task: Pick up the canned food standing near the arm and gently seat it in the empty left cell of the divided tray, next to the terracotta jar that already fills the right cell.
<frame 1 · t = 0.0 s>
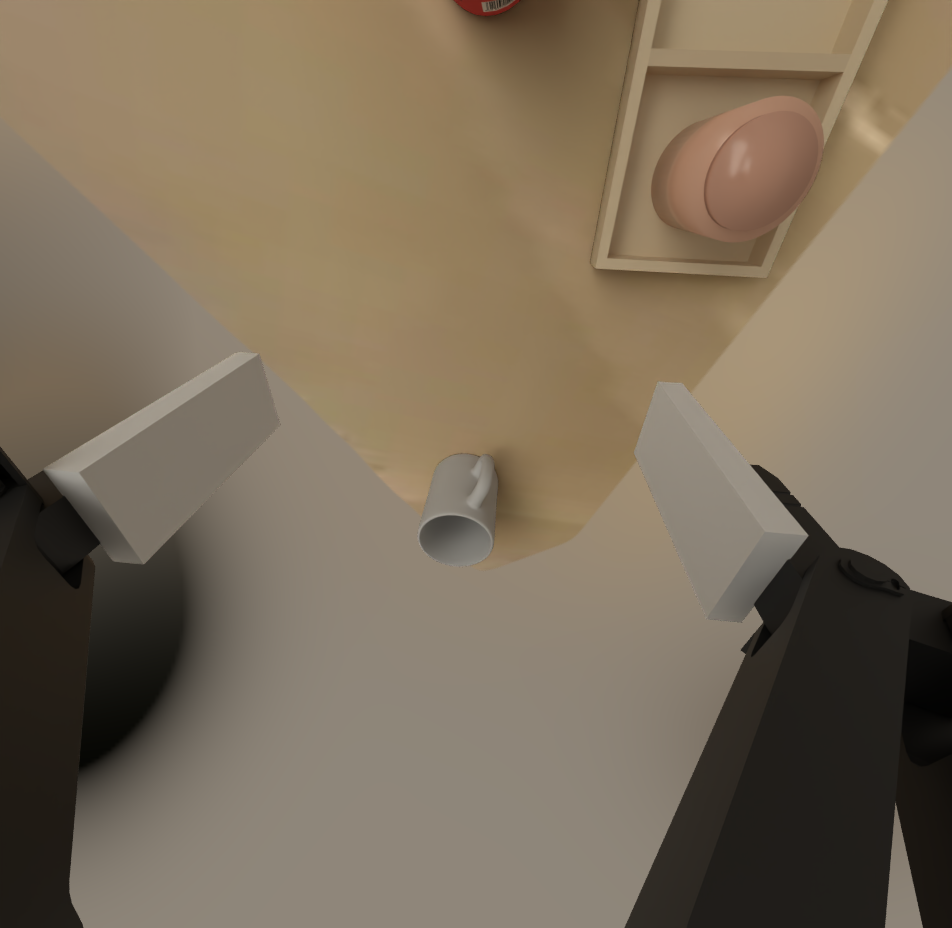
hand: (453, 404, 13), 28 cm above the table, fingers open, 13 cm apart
mug: (471, 469, 50), on the table
jar: (698, 177, 31), point 1 cm above the table, touching divided tray
divided tray: (726, 71, 27), on the table
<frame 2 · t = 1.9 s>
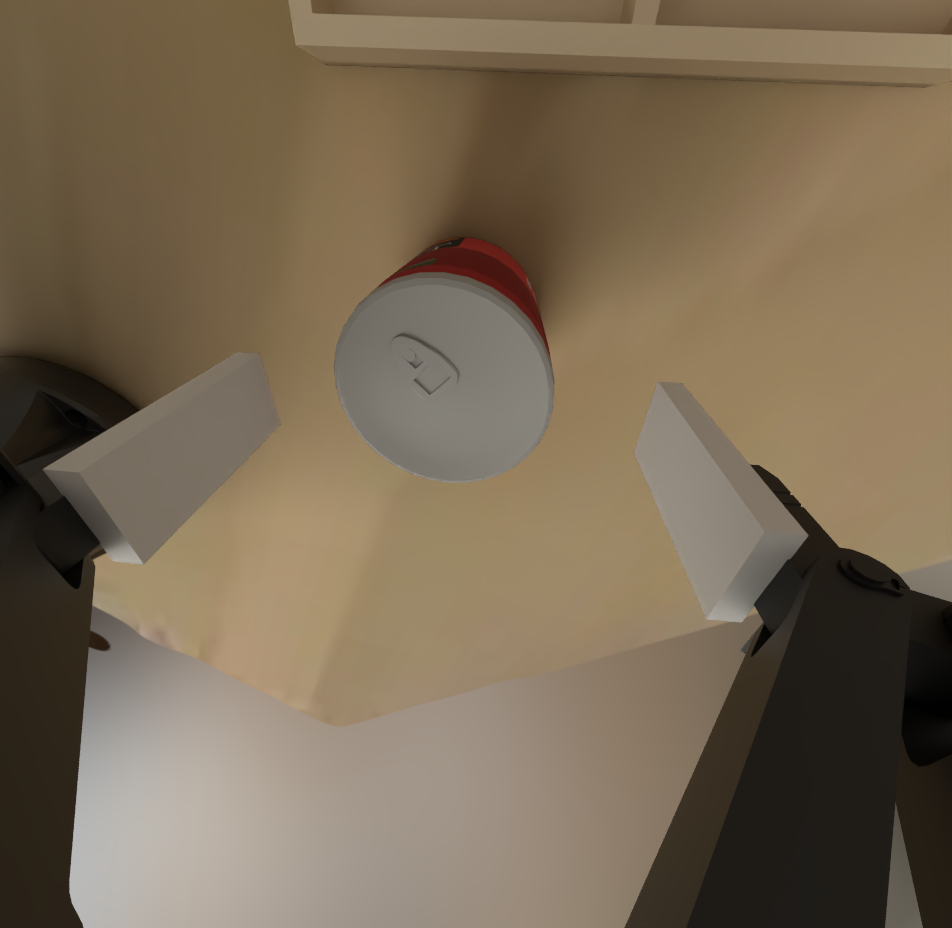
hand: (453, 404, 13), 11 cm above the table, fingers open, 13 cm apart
canned food: (469, 312, 23), on the table
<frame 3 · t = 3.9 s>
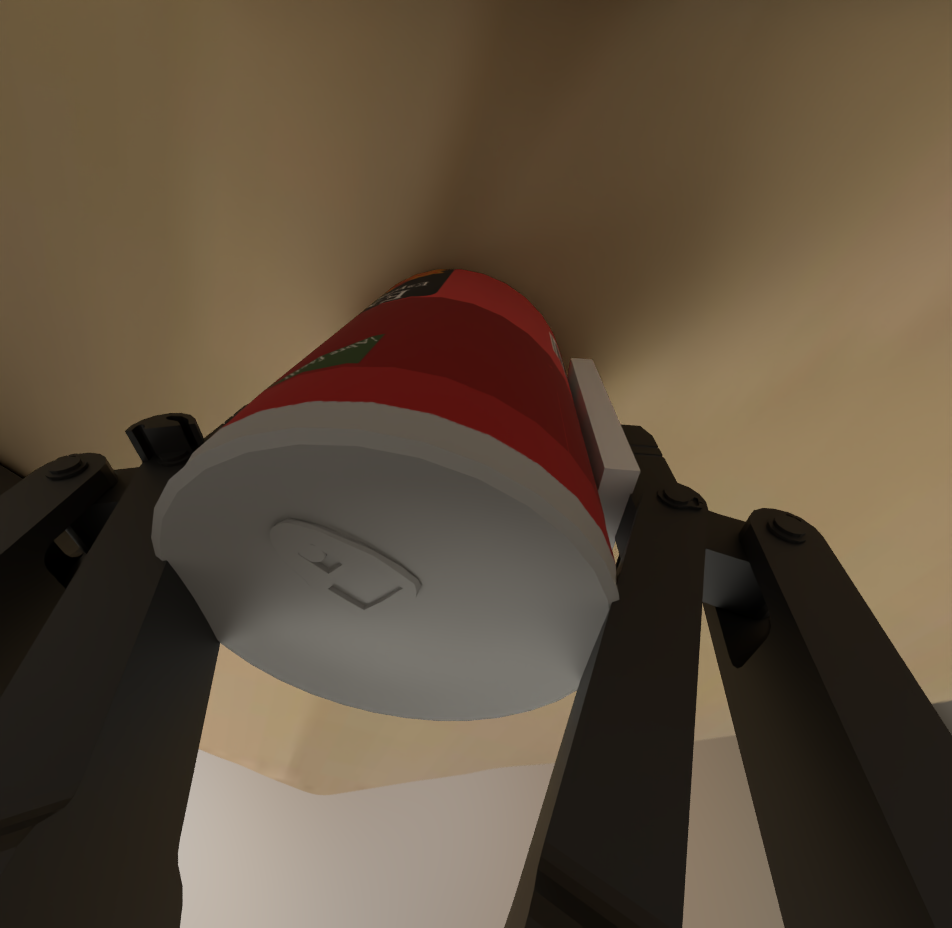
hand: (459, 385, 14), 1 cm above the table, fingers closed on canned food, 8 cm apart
canned food: (463, 370, 16), on the table, touching gripper
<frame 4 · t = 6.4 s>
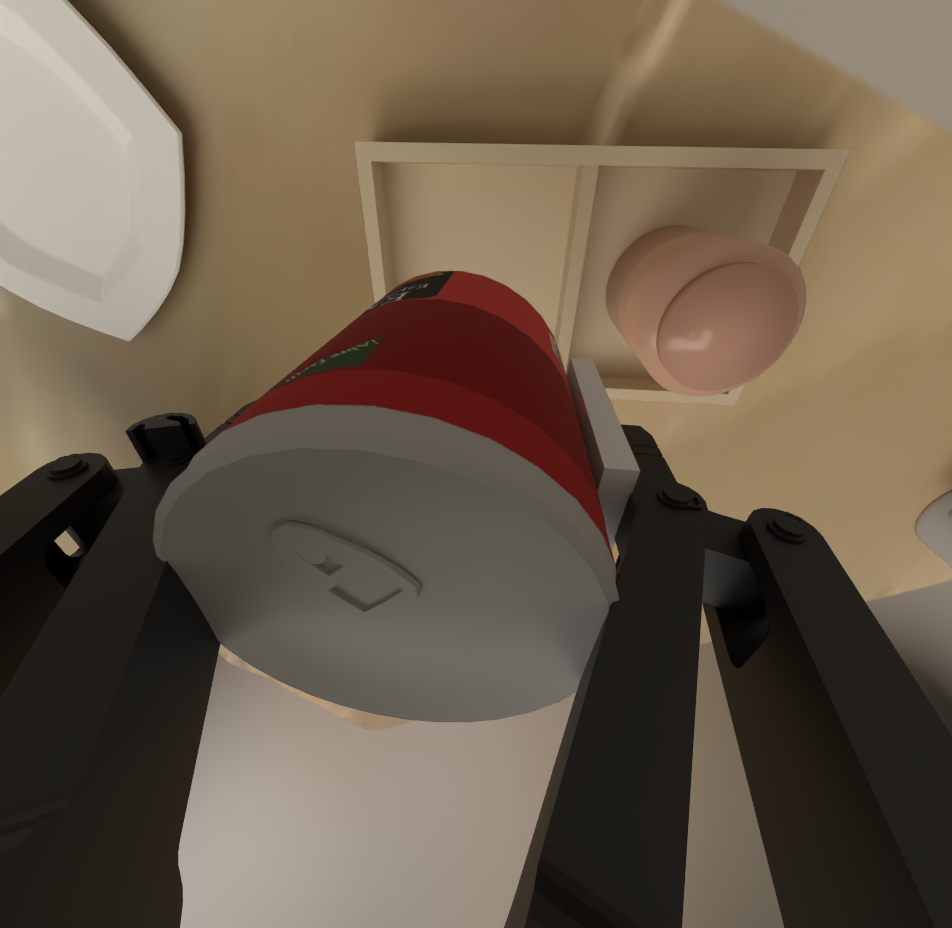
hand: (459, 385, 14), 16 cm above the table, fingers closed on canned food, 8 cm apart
plate: (48, 161, 25), on the table
canned food: (463, 371, 16), point 14 cm above the table, touching gripper
jar: (660, 287, 26), point 1 cm above the table, touching divided tray
divided tray: (566, 282, 26), on the table
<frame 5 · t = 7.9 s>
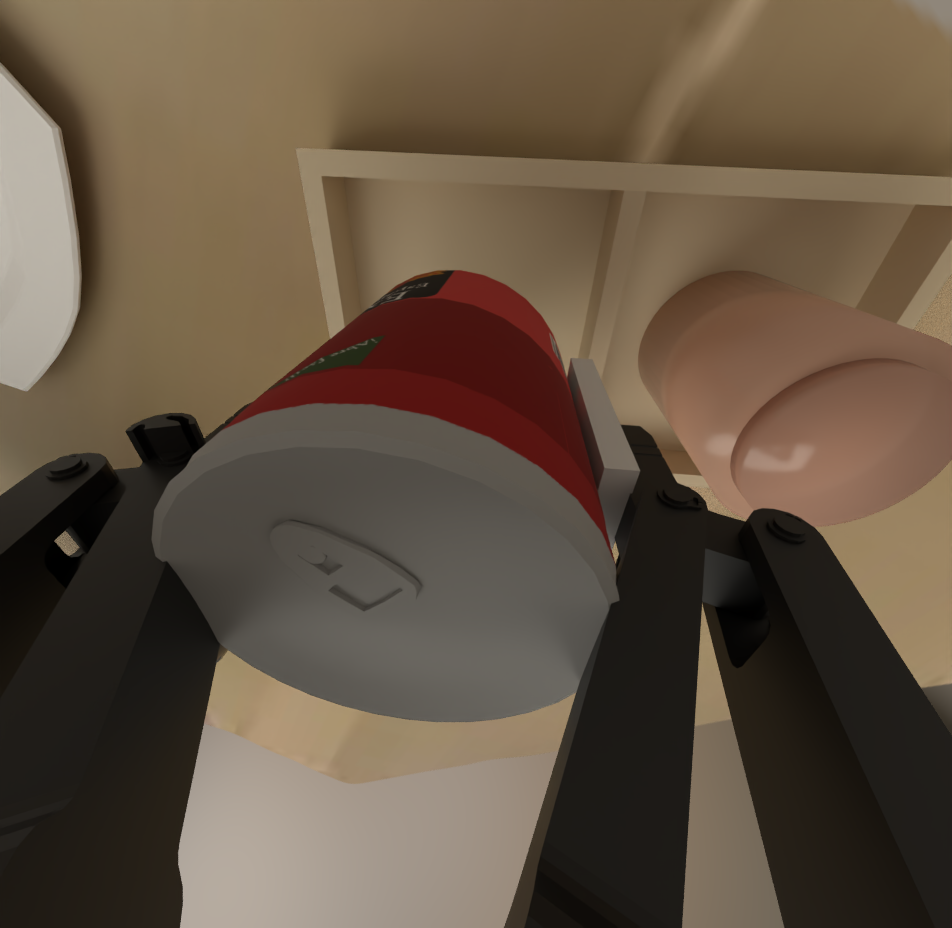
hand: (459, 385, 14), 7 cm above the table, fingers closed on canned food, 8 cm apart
canned food: (463, 371, 16), point 6 cm above the table, touching gripper
jar: (711, 347, 19), point 1 cm above the table, touching divided tray
divided tray: (587, 335, 20), on the table
when the fingers open (5 cm above the table, at t = 9.2 s): canned food drops 3 cm, resting on divided tray.
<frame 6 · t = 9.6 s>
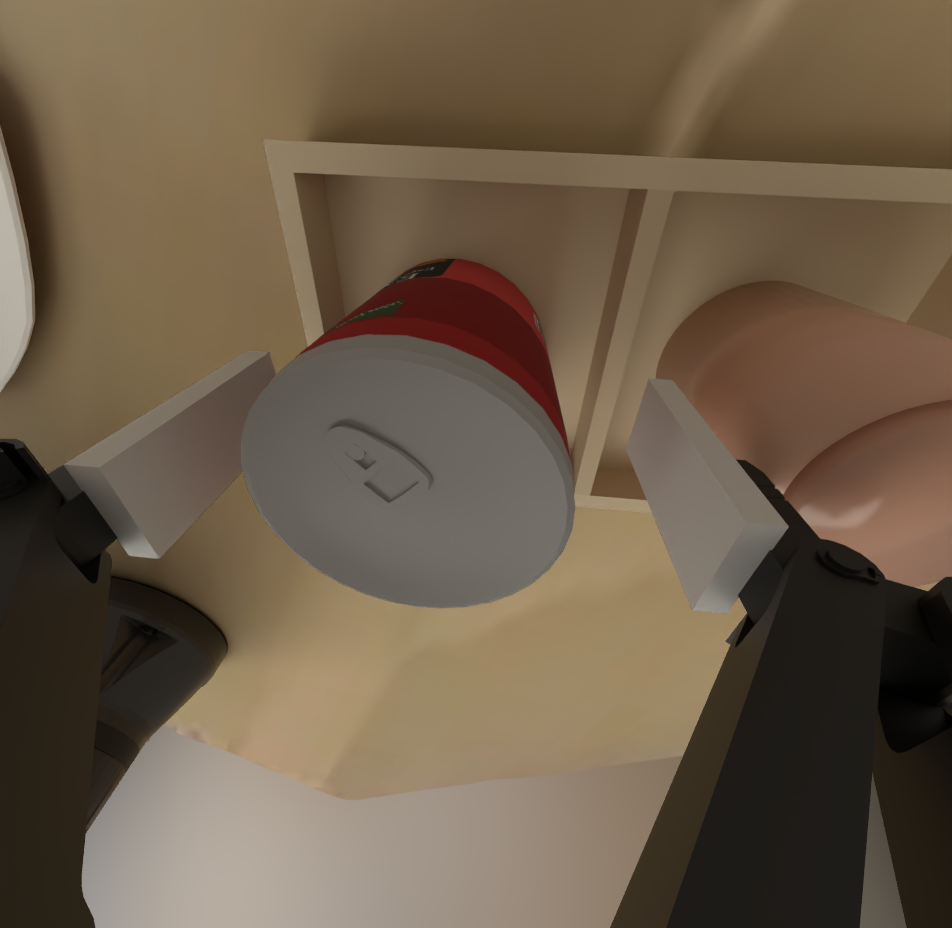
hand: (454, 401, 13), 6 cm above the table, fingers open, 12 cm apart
canned food: (460, 348, 18), resting on divided tray
jar: (738, 365, 17), point 1 cm above the table, touching divided tray
divided tray: (599, 351, 18), on the table
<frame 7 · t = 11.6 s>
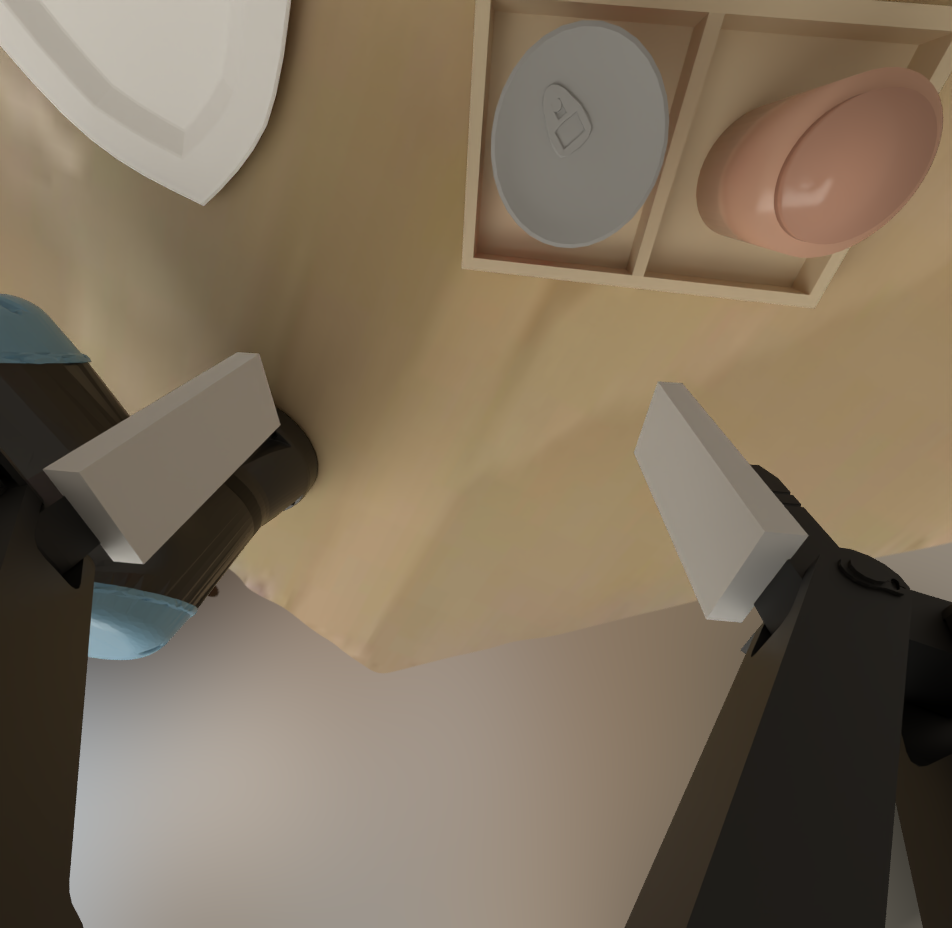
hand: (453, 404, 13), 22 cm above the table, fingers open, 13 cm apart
canned food: (562, 159, 26), resting on divided tray
jar: (755, 175, 25), point 1 cm above the table, touching divided tray
divided tray: (658, 166, 26), on the table
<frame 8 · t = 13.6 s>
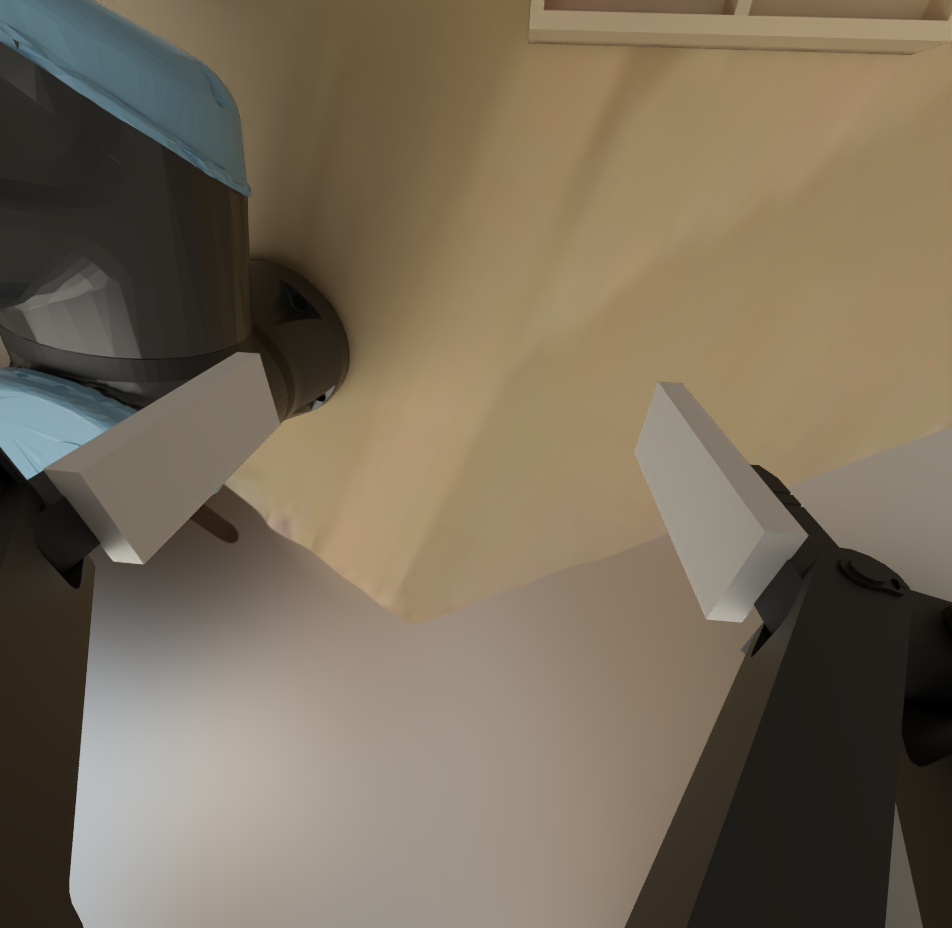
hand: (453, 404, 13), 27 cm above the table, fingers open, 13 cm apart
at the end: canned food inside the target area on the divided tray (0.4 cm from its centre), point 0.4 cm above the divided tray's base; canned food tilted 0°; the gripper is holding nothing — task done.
